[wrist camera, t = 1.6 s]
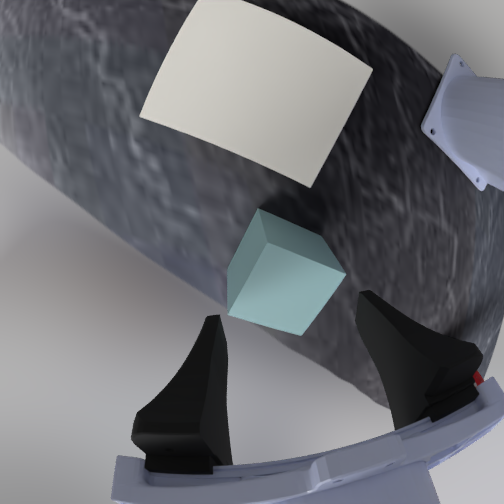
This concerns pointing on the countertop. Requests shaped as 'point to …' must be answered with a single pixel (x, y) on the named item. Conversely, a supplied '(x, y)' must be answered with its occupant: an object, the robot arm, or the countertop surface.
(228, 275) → the teal cube
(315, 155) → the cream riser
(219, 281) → the countertop surface
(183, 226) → the countertop surface
